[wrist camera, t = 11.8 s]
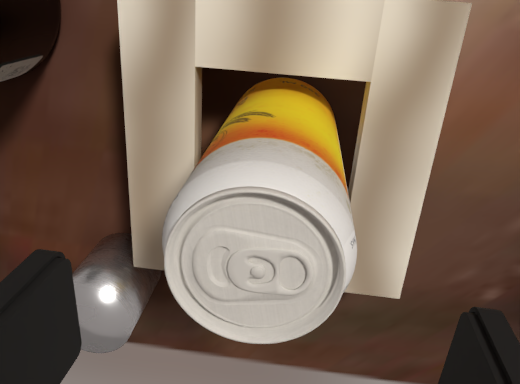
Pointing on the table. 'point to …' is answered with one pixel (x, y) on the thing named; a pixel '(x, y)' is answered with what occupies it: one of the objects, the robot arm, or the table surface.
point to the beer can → (264, 220)
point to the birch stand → (301, 64)
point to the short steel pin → (111, 293)
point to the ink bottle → (26, 34)
